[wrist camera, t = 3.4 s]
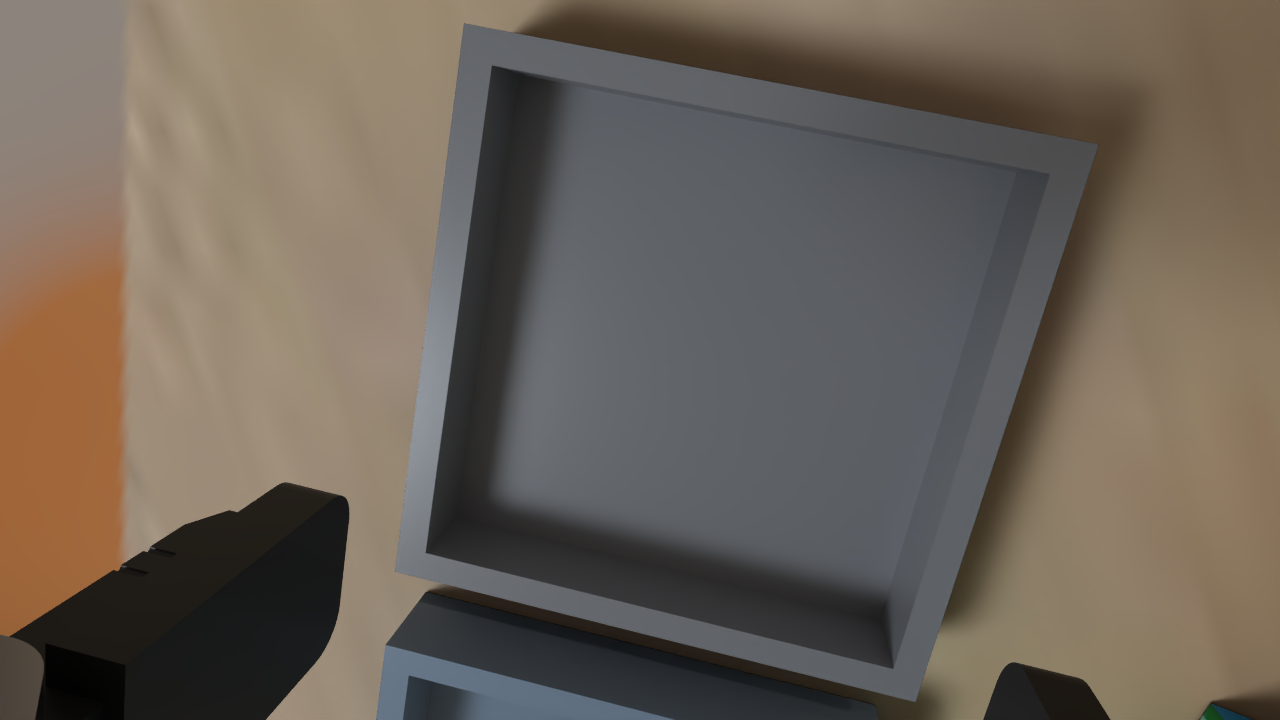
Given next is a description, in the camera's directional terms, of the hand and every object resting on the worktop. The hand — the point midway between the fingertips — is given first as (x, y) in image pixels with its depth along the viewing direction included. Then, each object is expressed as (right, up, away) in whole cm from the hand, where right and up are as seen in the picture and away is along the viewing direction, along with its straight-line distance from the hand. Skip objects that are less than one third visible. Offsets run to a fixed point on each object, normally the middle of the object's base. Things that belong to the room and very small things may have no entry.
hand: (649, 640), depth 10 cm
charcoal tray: (+2, +3, +13) cm, 14 cm away
